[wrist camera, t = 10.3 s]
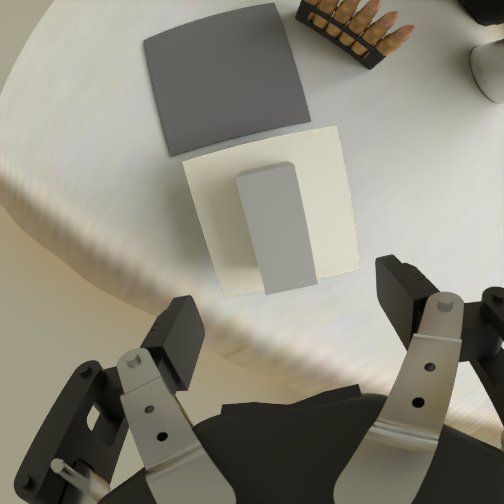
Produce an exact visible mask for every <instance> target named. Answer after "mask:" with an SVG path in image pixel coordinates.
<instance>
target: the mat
mask: <svg viewBox="0 0 504 504" xmlns="http://www.w3.org/2000/svg"><path fill="white" fill-rule="evenodd" d="M144 45H145V50H146V55H147V60H148V65H149V69H150V74H151V78H152V83H153V87H154V92H155V96H156V100H157V104H158V109H159V113H160V117H161V121H162V125H163V129H164V133H165V136H166V140H167V144H168V148H169V152H170V155H171V156H174V155H177V154H180V153H184V152H187V151H190V150H193V149H196V148H200V147H203V146H206V145H210V144H213V143H217V142H221V141H224V140H228V139H232V138H236V137H240V136H244V135H248V134H252V133H256V132H260V131H265V130H269V129H274V128H279V127H284V126H289V125H294V124H299V123H305V122H310V121H311V119H310V115H309V111H308V107H307V103H306V100H305V96H304V92H303V89H302V85H301V82H300V78H299V75H298V71H297V68H296V65H295V62H294V58H293V55H292V52H291V49H290V46H289V43H288V40H287V37H286V34H285V31H284V28H283V25H282V23H281V20H280V17H279V14H278V12H277V9H276V6H275V4H274V3H269V4H262V5H257V6H251V7H246V8H242V9H237V10H233V11H229V12H225V13H221V14H217V15H213V16H210V17H206V18H203V19H199V20H196V21H193V22H190V23H187V24H184V25H181V26H178V27H176V28H173V29H170V30H168V31H165V32H162V33H160V34H157V35H155V36H153V37H150V38H148V39H146V40H144Z"/></svg>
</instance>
